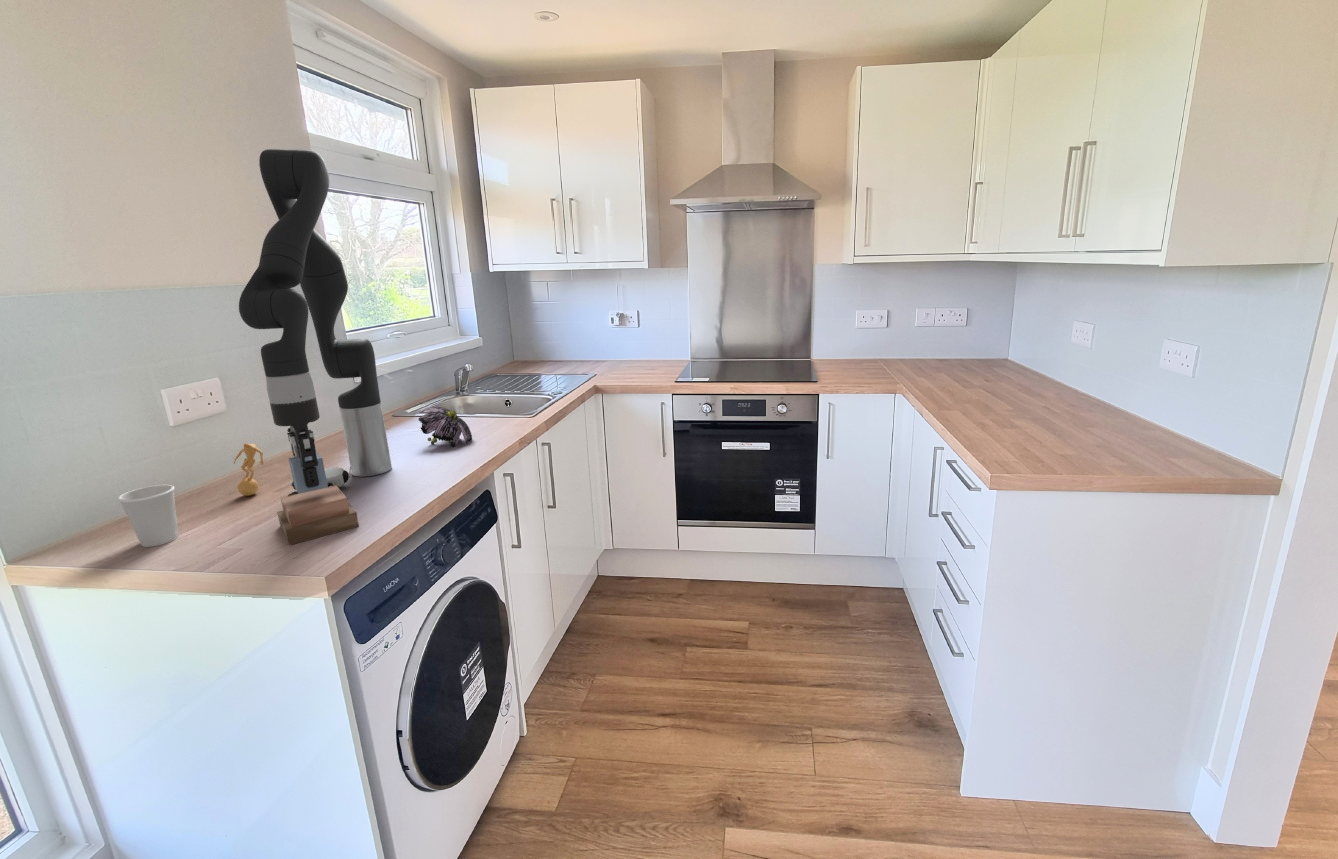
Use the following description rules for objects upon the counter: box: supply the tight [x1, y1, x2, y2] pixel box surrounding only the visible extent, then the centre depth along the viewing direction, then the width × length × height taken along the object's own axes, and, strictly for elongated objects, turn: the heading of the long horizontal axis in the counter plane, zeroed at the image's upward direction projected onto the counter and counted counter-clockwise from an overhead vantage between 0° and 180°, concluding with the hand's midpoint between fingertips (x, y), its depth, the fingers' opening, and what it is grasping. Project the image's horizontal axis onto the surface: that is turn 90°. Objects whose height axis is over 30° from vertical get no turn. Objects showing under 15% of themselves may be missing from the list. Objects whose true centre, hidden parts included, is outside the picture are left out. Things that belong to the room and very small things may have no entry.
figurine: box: [233, 442, 264, 497], centre depth 141 cm, size 8×6×12 cm
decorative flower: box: [418, 406, 473, 448], centre depth 176 cm, size 15×12×15 cm
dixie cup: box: [117, 484, 179, 548], centre depth 117 cm, size 8×8×10 cm
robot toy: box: [287, 465, 352, 496], centre depth 139 cm, size 12×4×15 cm
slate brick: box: [288, 452, 328, 494], centre depth 119 cm, size 5×5×6 cm
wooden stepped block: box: [276, 485, 360, 546], centre depth 121 cm, size 12×12×6 cm
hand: (310, 482), depth 119 cm, fingers closed on slate brick, 5 cm apart
